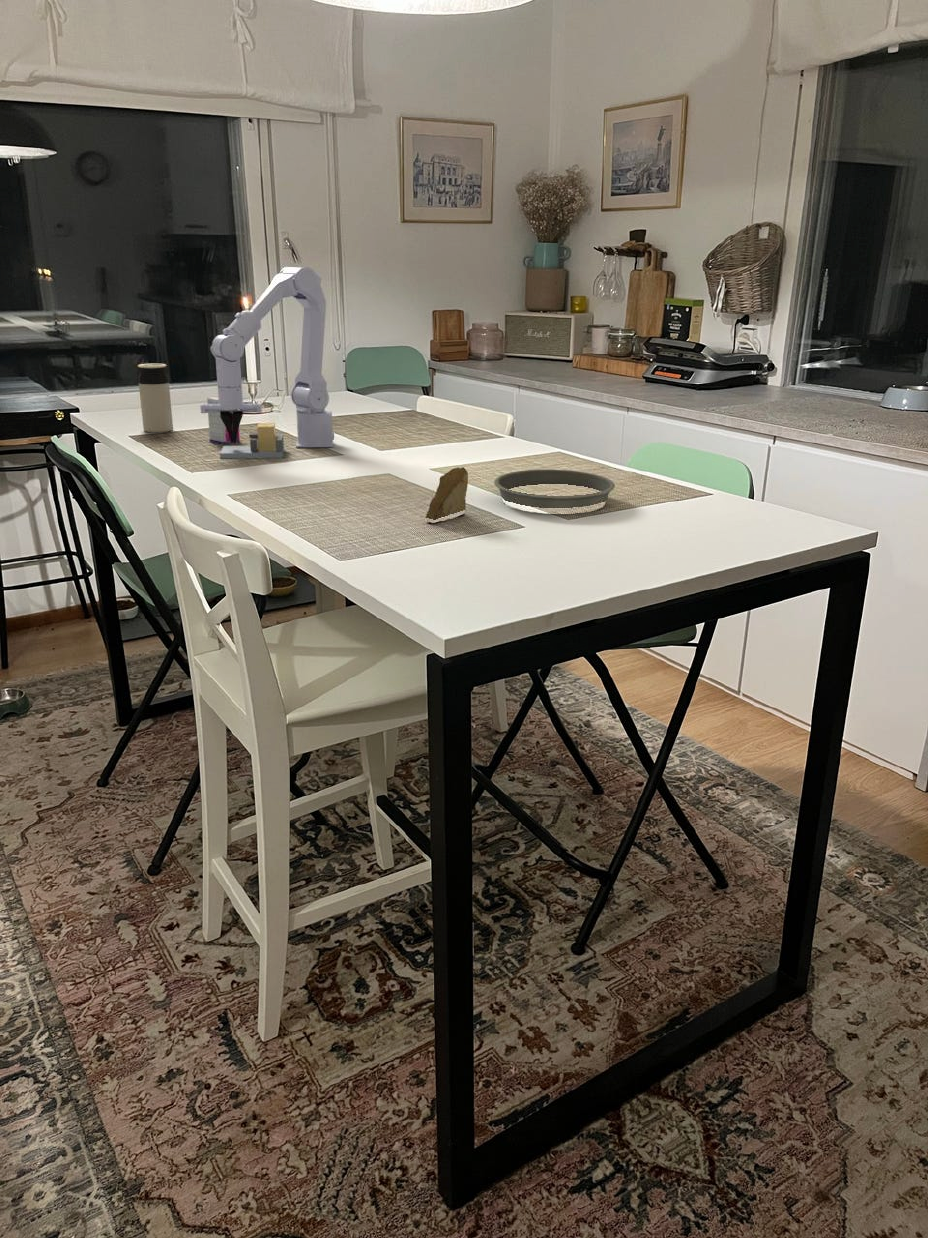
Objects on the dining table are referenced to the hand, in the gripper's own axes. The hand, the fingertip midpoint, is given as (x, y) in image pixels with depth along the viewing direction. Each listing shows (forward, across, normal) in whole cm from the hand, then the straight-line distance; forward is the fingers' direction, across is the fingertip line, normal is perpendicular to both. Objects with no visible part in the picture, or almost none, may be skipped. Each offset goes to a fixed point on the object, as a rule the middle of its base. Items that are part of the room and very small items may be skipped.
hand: (233, 442), depth 238 cm
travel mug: (+3, -24, +36) cm, 43 cm away
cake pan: (+3, +69, -55) cm, 88 cm away
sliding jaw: (+1, +5, 0) cm, 5 cm away
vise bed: (+3, +4, 0) cm, 5 cm away
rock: (+3, +45, -66) cm, 80 cm away
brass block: (+2, +8, 0) cm, 8 cm away
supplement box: (+3, -4, +18) cm, 19 cm away
